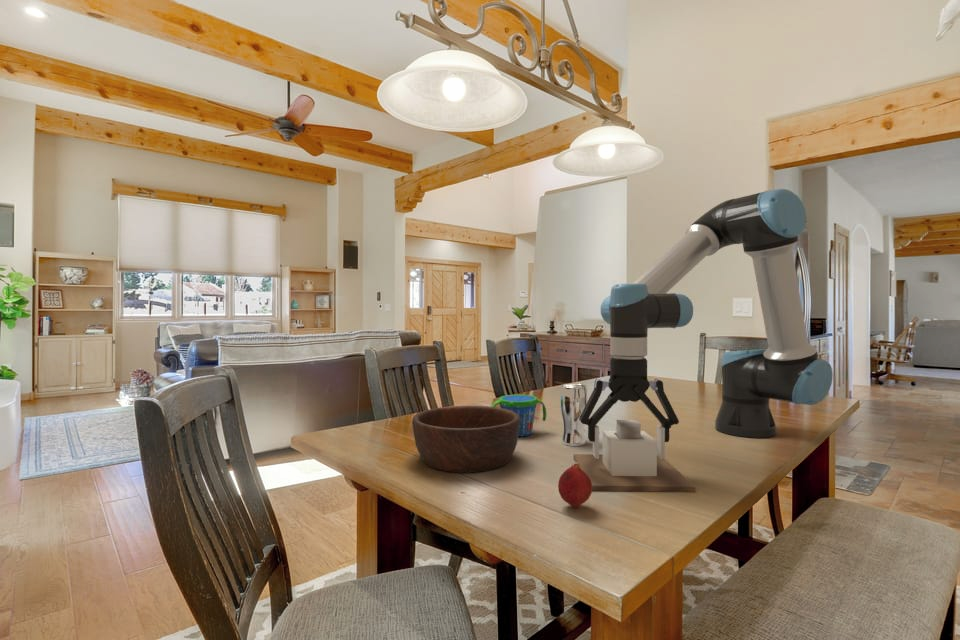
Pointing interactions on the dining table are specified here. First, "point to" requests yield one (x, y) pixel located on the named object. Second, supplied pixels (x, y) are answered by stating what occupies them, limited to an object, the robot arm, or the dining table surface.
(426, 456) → the wooden bowl
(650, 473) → the white square sleeve
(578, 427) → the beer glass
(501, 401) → the snack cup
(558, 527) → the dining table surface
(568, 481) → the onion
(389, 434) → the dining table surface
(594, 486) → the post base
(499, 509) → the dining table surface
